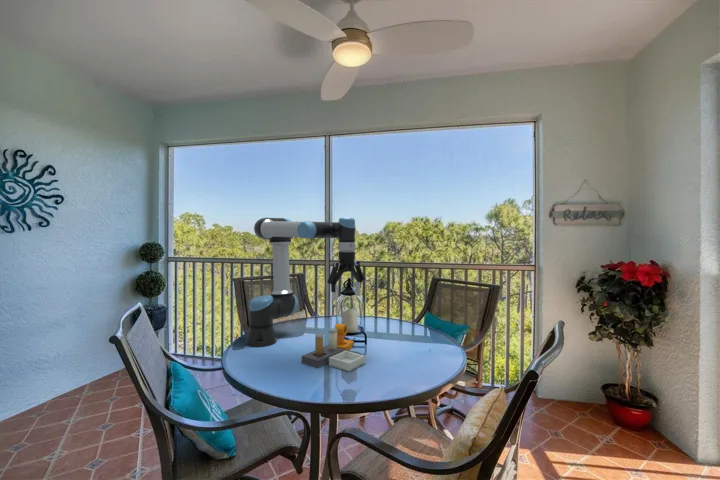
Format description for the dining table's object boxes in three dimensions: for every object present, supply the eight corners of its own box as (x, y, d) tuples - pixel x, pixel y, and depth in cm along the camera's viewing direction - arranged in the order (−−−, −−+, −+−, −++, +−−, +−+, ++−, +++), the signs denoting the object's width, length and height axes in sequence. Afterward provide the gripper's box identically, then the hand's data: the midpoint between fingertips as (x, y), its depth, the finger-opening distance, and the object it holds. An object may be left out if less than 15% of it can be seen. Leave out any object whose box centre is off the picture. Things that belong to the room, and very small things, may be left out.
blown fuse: (313, 361, 153) (313, 334, 153) (319, 358, 156) (319, 332, 156) (319, 363, 151) (319, 335, 151) (325, 360, 154) (325, 333, 154)
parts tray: (329, 365, 148) (329, 357, 148) (345, 358, 157) (345, 350, 157) (349, 371, 142) (349, 363, 142) (364, 363, 150) (364, 355, 150)
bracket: (345, 353, 164) (345, 328, 163) (331, 351, 166) (331, 326, 166) (354, 346, 174) (354, 322, 174) (340, 344, 176) (340, 321, 176)
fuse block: (318, 367, 146) (318, 339, 145) (301, 362, 152) (301, 335, 151) (345, 355, 160) (345, 329, 160) (329, 351, 166) (329, 326, 166)
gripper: (329, 252, 148) (329, 302, 149) (372, 250, 165) (371, 295, 165) (319, 251, 154) (319, 299, 154) (361, 250, 170) (361, 293, 171)
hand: (346, 297), depth 160 cm, fingers open, 13 cm apart
